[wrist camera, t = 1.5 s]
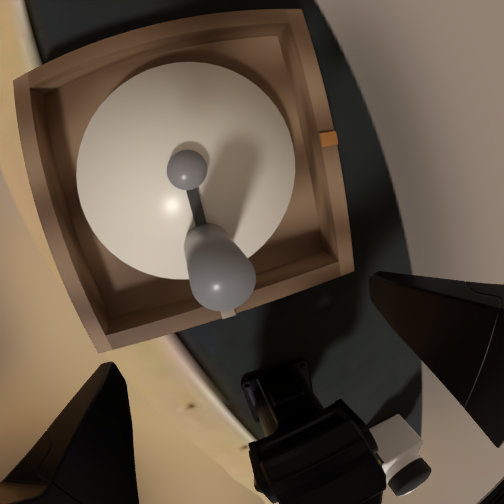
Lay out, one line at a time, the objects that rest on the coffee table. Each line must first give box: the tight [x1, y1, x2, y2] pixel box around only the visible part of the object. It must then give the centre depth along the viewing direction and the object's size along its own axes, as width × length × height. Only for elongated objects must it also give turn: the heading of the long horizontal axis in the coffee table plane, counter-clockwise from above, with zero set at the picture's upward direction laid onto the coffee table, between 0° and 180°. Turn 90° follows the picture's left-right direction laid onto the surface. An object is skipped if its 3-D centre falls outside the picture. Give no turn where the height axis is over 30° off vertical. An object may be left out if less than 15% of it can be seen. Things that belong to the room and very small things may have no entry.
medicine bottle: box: [369, 414, 431, 496], centre depth 31 cm, size 7×7×12 cm
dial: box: [76, 62, 295, 311], centre depth 15 cm, size 14×14×7 cm
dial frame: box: [13, 9, 354, 353], centre depth 18 cm, size 19×19×4 cm
